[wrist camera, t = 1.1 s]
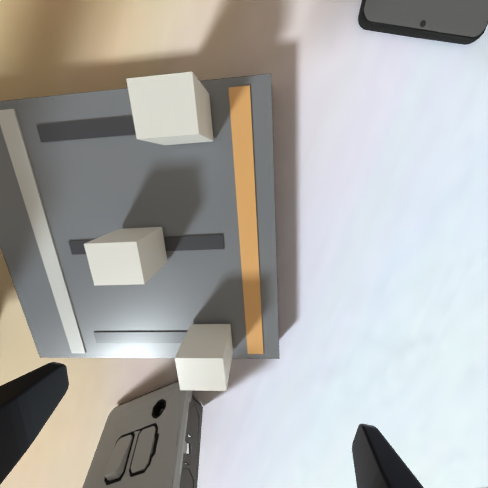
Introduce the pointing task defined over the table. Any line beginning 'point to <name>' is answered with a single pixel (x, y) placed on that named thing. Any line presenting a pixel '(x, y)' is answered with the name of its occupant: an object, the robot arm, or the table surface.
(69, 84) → the table surface
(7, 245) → the breaker panel
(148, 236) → the handle middle
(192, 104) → the handle
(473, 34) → the smartphone
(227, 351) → the handle
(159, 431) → the electrical switch
